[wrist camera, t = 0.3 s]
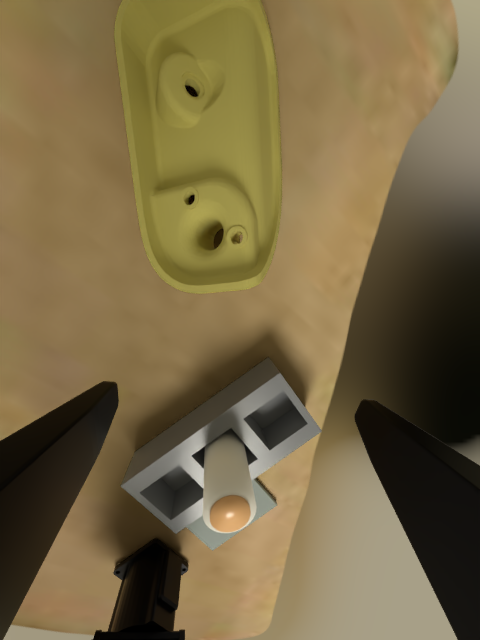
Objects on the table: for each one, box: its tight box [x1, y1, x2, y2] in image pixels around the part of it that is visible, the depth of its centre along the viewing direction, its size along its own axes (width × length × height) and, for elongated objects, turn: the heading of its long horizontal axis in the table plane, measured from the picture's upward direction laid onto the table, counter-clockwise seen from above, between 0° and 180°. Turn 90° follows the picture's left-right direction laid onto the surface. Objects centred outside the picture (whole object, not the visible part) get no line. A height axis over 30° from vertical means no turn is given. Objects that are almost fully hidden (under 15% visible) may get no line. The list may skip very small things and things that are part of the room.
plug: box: [203, 428, 257, 533], centre depth 20 cm, size 4×4×8 cm
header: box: [121, 357, 321, 534], centre depth 23 cm, size 18×8×4 cm, turn 125°
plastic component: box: [114, 0, 282, 294], centre depth 18 cm, size 20×7×10 cm
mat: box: [187, 478, 277, 551], centre depth 27 cm, size 10×8×1 cm
